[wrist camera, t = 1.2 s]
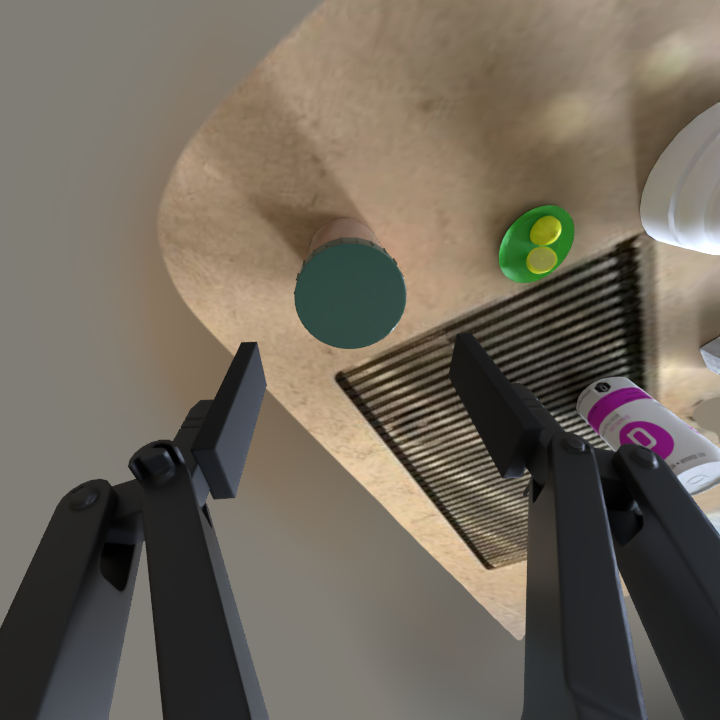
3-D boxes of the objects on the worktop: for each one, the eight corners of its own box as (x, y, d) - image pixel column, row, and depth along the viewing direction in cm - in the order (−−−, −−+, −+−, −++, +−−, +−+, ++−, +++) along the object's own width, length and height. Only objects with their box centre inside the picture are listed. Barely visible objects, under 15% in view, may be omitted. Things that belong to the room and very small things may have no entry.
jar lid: (325, 212, 21) (325, 217, 19) (423, 271, 23) (429, 279, 22) (279, 312, 24) (276, 323, 23) (368, 352, 27) (370, 364, 25)
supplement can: (562, 406, 48) (642, 495, 35) (604, 366, 44) (711, 450, 31) (597, 419, 50) (684, 506, 38) (640, 382, 46) (753, 466, 34)
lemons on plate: (568, 266, 35) (586, 274, 32) (499, 290, 36) (510, 300, 33) (572, 191, 30) (592, 194, 28) (493, 221, 31) (505, 227, 29)
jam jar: (329, 201, 29) (327, 224, 20) (394, 241, 32) (421, 278, 22) (297, 270, 33) (283, 318, 23) (358, 301, 35) (368, 356, 26)
